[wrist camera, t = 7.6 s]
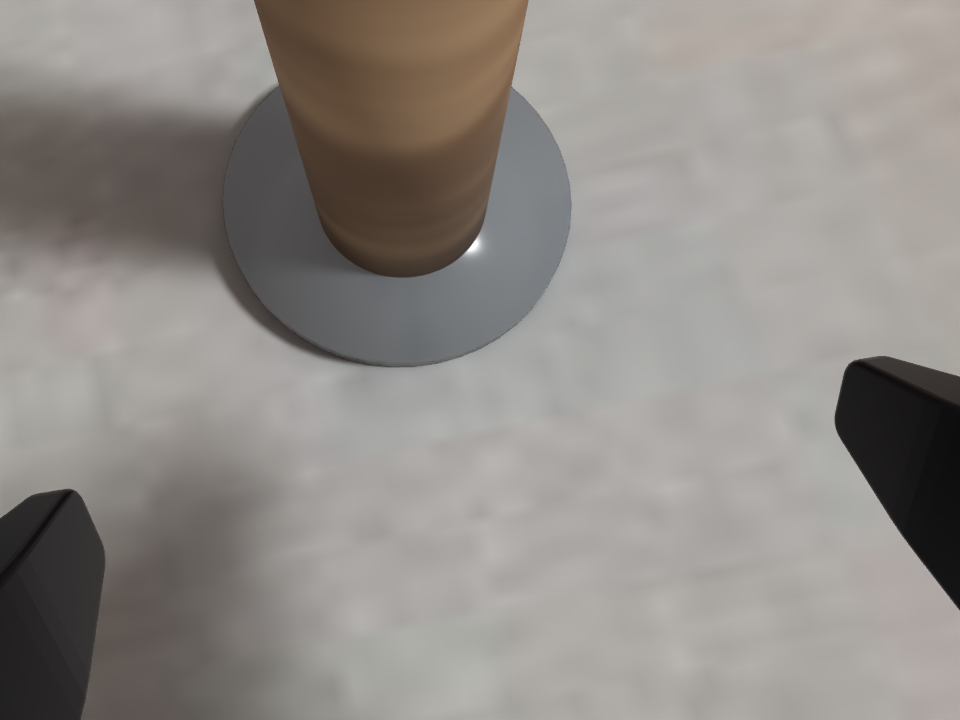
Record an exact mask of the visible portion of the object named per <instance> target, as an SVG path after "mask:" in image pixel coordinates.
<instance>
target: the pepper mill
mask: <svg viewBox="0 0 960 720" xmlns="http://www.w3.org/2000/svg"><path fill="white" fill-rule="evenodd" d="M254 2H255V5H256V9H257V12H258V15H259V19H260V22H261V25H262V29H263V32H264V35H265V39H266V42H267V45H268V49H269V52H270V56H271V59H272V62H273V66H274V69H275V72H276V76H277V79H278V82H279V86H280V89H281V92H282V96H283V99H284V102H285V106H286V109H287V112H288V116H289V119H290V122H291V126H292V129H293V132H294V136H295V139H296V142H297V146H298V149H299V153H300V156H301V159H302V163H303V166H304V169H305V173H306V176H307V179H308V183H309V186H310V189H311V193H312V196H313V199H314V203H315V206H316V209H317V213H318V216H319V219H320V223H321V225H322V228H323V230H324V232H325V234H326V236H327V237H328V239H329V240H330V242H331V243H332V244H333V246H334V247H335V248H336V249H337V250H338V251H339V252H340V253H341V254H342V255H343V256H344V257H345V258H346V259H348V260H349V261H351V262H352V263H354V264H355V265H357V266H359V267H361V268H363V269H365V270H367V271H370V272H373V273H375V274H379V275H383V276H388V277H398V278H405V277H417V276H423V275H427V274H430V273H433V272H436V271H438V270H441V269H443V268H445V267H447V266H448V265H450V264H452V263H453V262H455V261H456V260H457V259H459V258H460V257H461V256H462V255H463V254H464V253H465V252H466V251H467V250H468V249H469V248H470V247H471V245H472V244H473V243H474V241H475V240H476V238H477V236H478V235H479V233H480V231H481V228H482V226H483V223H484V219H485V215H486V210H487V205H488V200H489V195H490V190H491V185H492V180H493V175H494V170H495V165H496V160H497V155H498V150H499V145H500V140H501V135H502V130H503V125H504V120H505V115H506V110H507V105H508V100H509V95H510V90H511V85H512V80H513V75H514V70H515V65H516V60H517V55H518V50H519V45H520V40H521V35H522V30H523V25H524V20H525V15H526V10H527V5H528V0H254Z"/></svg>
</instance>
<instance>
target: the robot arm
mask: <svg viewBox="0 0 960 720" xmlns="http://www.w3.org/2000/svg"><path fill="white" fill-rule="evenodd" d="M835 426H836V430H837V433H838V435H839V437H840V439H841V440H842V442H843V444H844V445H845V447H846V448H847V450H848V452H849V453H850V455H851V456H852V458H853V459H854V461H855V463H856V464H857V466H858V467H859V469H860V471H861V472H862V474H863V475H864V477H865V479H866V480H867V482H868V483H869V485H870V486H871V488H872V490H873V491H874V493H875V494H876V496H877V498H878V499H879V501H880V502H881V504H882V506H883V507H884V509H885V510H886V512H887V513H888V515H889V517H890V518H891V520H892V521H893V523H894V524H895V526H896V527H897V529H898V530H899V532H900V533H901V535H902V536H903V537H904V539H905V540H906V541H907V543H908V544H909V546H910V547H911V548H912V550H913V551H914V552H915V554H916V555H917V556H918V557H919V559H920V560H921V561H922V563H923V564H924V565H925V566H926V568H927V569H928V570H929V572H930V573H931V574H932V575H933V577H934V578H935V579H936V581H937V582H938V583H939V584H940V586H941V587H942V588H943V590H944V591H945V592H946V593H947V595H948V596H949V597H950V599H951V600H952V601H953V602H954V604H955V605H956V606H957V608H958V609H959V610H960V377H959V376H956V375H952V374H948V373H945V372H941V371H938V370H934V369H931V368H927V367H923V366H920V365H916V364H913V363H909V362H906V361H902V360H898V359H895V358H891V357H887V356H877V357H871V358H865V359H859V360H854V361H853V362H851V363H850V364H849V365H848V366H847V368H846V369H845V372H844V376H843V380H842V385H841V389H840V394H839V398H838V403H837V407H836V412H835ZM104 571H105V552H104V547H103V544H102V541H101V539H100V537H99V535H98V532H97V530H96V528H95V526H94V523H93V521H92V519H91V517H90V514H89V512H88V510H87V508H86V506H85V503H84V501H83V499H82V497H81V496H80V495H79V494H78V492H76V491H74V490H72V489H63V490H57V491H51V492H45V493H39V494H34V495H32V496H30V497H28V498H27V499H25V500H24V501H23V502H22V503H20V504H19V505H18V506H16V507H15V508H14V509H12V510H11V511H10V512H8V513H7V514H6V515H4V516H3V517H2V518H0V720H81V716H82V712H83V707H84V703H85V699H86V693H87V688H88V682H89V676H90V669H91V662H92V655H93V648H94V641H95V634H96V627H97V620H98V613H99V606H100V599H101V592H102V585H103V578H104Z"/></svg>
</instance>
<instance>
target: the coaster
mask: <svg viewBox="0 0 960 720" xmlns="http://www.w3.org/2000/svg"><path fill="white" fill-rule="evenodd" d="M223 210H224V222H225V227H226V231H227V236H228V240H229V244H230V247H231V249H232V252H233V254H234V257H235V259H236V262H237V264H238V266H239V268H240V270H241V271H242V273H243V275H244V276H245V278H246V280H247V282H248V283H249V285H250V287H251V288H252V290H253V292H254V293H255V294H256V296H257V297H258V298H259V299H260V301H261V302H262V303H263V305H264V306H265V307H266V308H267V310H268V311H269V312H270V313H271V314H272V315H274V316H275V317H276V318H277V319H278V320H279V321H280V322H281V323H282V324H283V325H284V326H285V327H287V328H288V329H289V330H291V331H292V332H293V333H295V334H296V335H298V336H299V337H300V338H302V339H303V340H305V341H307V342H309V343H311V344H312V345H314V346H316V347H318V348H320V349H322V350H324V351H326V352H329V353H331V354H334V355H337V356H339V357H342V358H344V359H348V360H352V361H356V362H360V363H365V364H370V365H379V366H387V367H415V366H423V365H430V364H437V363H441V362H445V361H448V360H452V359H456V358H459V357H462V356H464V355H467V354H469V353H471V352H474V351H476V350H479V349H481V348H483V347H484V346H486V345H488V344H490V343H491V342H493V341H495V340H496V339H498V338H500V337H501V336H502V335H504V334H505V333H506V332H508V331H509V330H510V329H511V328H513V327H514V326H515V325H517V324H518V323H519V322H520V321H521V320H522V319H523V318H524V317H525V316H526V315H527V314H528V313H529V312H530V310H531V309H532V308H533V307H534V306H535V304H536V303H537V302H538V300H539V299H540V297H541V296H542V295H543V293H544V292H545V290H546V288H547V287H548V285H549V283H550V281H551V279H552V277H553V275H554V274H555V272H556V270H557V268H558V266H559V263H560V260H561V258H562V255H563V252H564V250H565V247H566V243H567V238H568V233H569V229H570V220H571V193H570V184H569V179H568V175H567V170H566V166H565V163H564V160H563V158H562V155H561V152H560V149H559V147H558V145H557V143H556V141H555V139H554V137H553V135H552V133H551V132H550V130H549V128H548V127H547V125H546V124H545V122H544V121H543V120H542V118H541V117H540V115H539V114H538V113H537V111H536V110H535V109H534V108H533V107H532V106H531V105H530V104H529V103H528V102H527V100H526V99H525V98H524V97H523V96H521V95H520V94H519V93H518V92H517V91H516V90H514V89H513V88H512V87H511V90H510V95H509V100H508V105H507V110H506V115H505V120H504V125H503V130H502V135H501V140H500V145H499V150H498V155H497V160H496V165H495V170H494V175H493V180H492V185H491V190H490V195H489V200H488V205H487V210H486V215H485V219H484V223H483V226H482V228H481V231H480V233H479V235H478V236H477V238H476V240H475V241H474V243H473V244H472V245H471V247H470V248H469V249H468V250H467V251H466V252H465V253H464V254H463V255H462V256H461V257H460V258H459V259H457V260H456V261H455V262H453V263H452V264H450V265H448V266H447V267H445V268H443V269H441V270H438V271H436V272H433V273H430V274H427V275H423V276H417V277H405V278H398V277H388V276H383V275H379V274H375V273H373V272H370V271H367V270H365V269H363V268H361V267H359V266H357V265H355V264H354V263H352V262H351V261H349V260H348V259H346V258H345V257H344V256H343V255H342V254H341V253H340V252H339V251H338V250H337V249H336V248H335V247H334V246H333V244H332V243H331V242H330V240H329V239H328V237H327V236H326V234H325V232H324V230H323V228H322V225H321V223H320V219H319V216H318V213H317V209H316V206H315V203H314V199H313V196H312V193H311V189H310V186H309V183H308V179H307V176H306V173H305V169H304V166H303V163H302V159H301V156H300V153H299V149H298V146H297V142H296V139H295V136H294V132H293V129H292V126H291V122H290V119H289V116H288V112H287V109H286V106H285V102H284V99H283V96H282V92H281V89H280V86H279V87H278V88H276V89H275V90H274V91H273V92H272V93H271V94H270V95H269V96H268V97H267V98H266V99H265V100H264V101H263V102H262V103H261V104H260V105H259V106H258V107H257V109H256V110H255V111H254V113H253V114H252V115H251V117H250V118H249V119H248V121H247V122H246V124H245V125H244V127H243V129H242V131H241V133H240V135H239V136H238V138H237V140H236V142H235V145H234V148H233V150H232V153H231V156H230V158H229V161H228V166H227V170H226V175H225V180H224V192H223Z"/></svg>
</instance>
